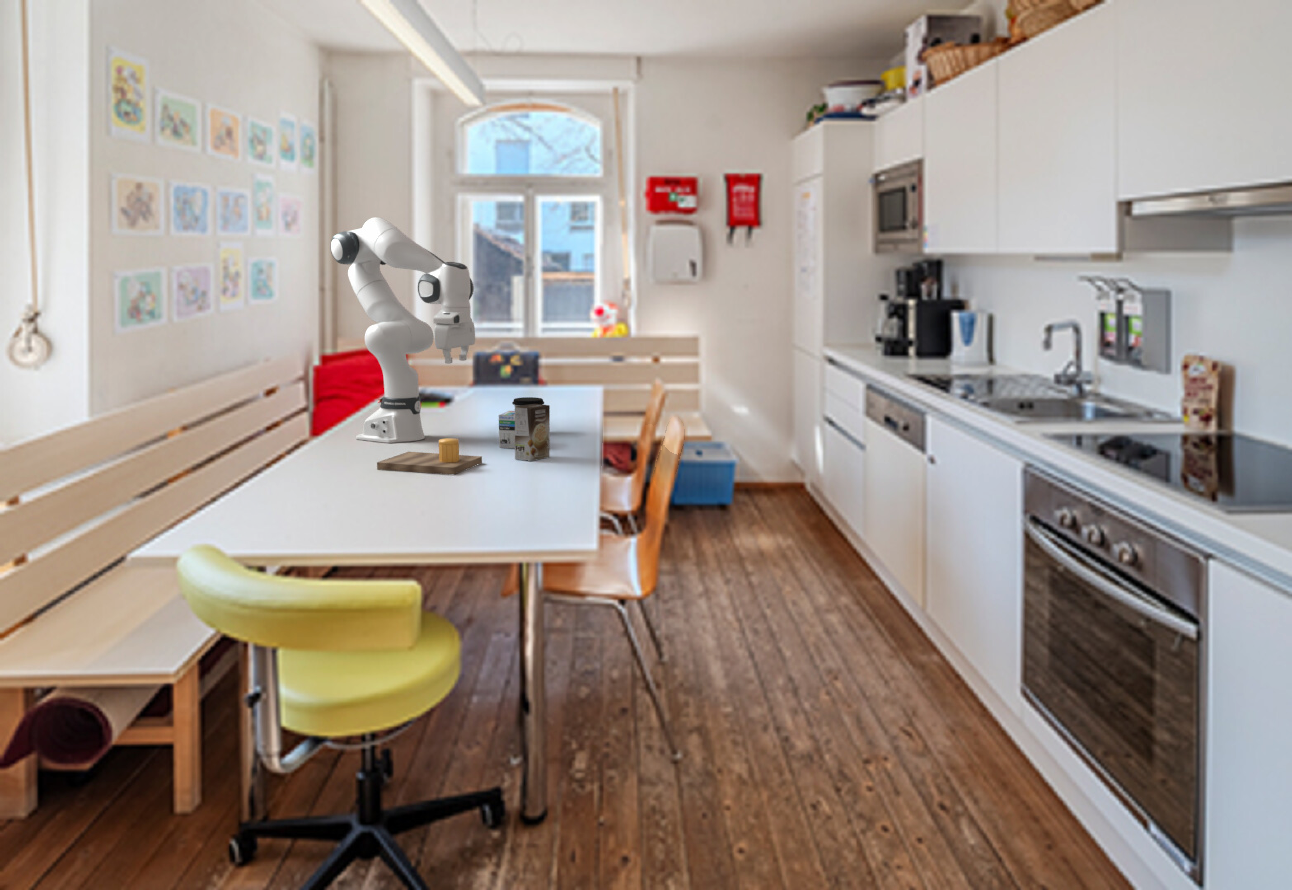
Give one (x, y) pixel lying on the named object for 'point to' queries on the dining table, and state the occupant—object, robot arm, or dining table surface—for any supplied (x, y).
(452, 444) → the wire cap
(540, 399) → the coffee cup
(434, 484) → the dining table surface
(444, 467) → the wooden peg board
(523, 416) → the coffee box
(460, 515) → the dining table surface
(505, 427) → the light bulb box
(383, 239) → the robot arm
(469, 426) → the dining table surface
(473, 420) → the dining table surface
